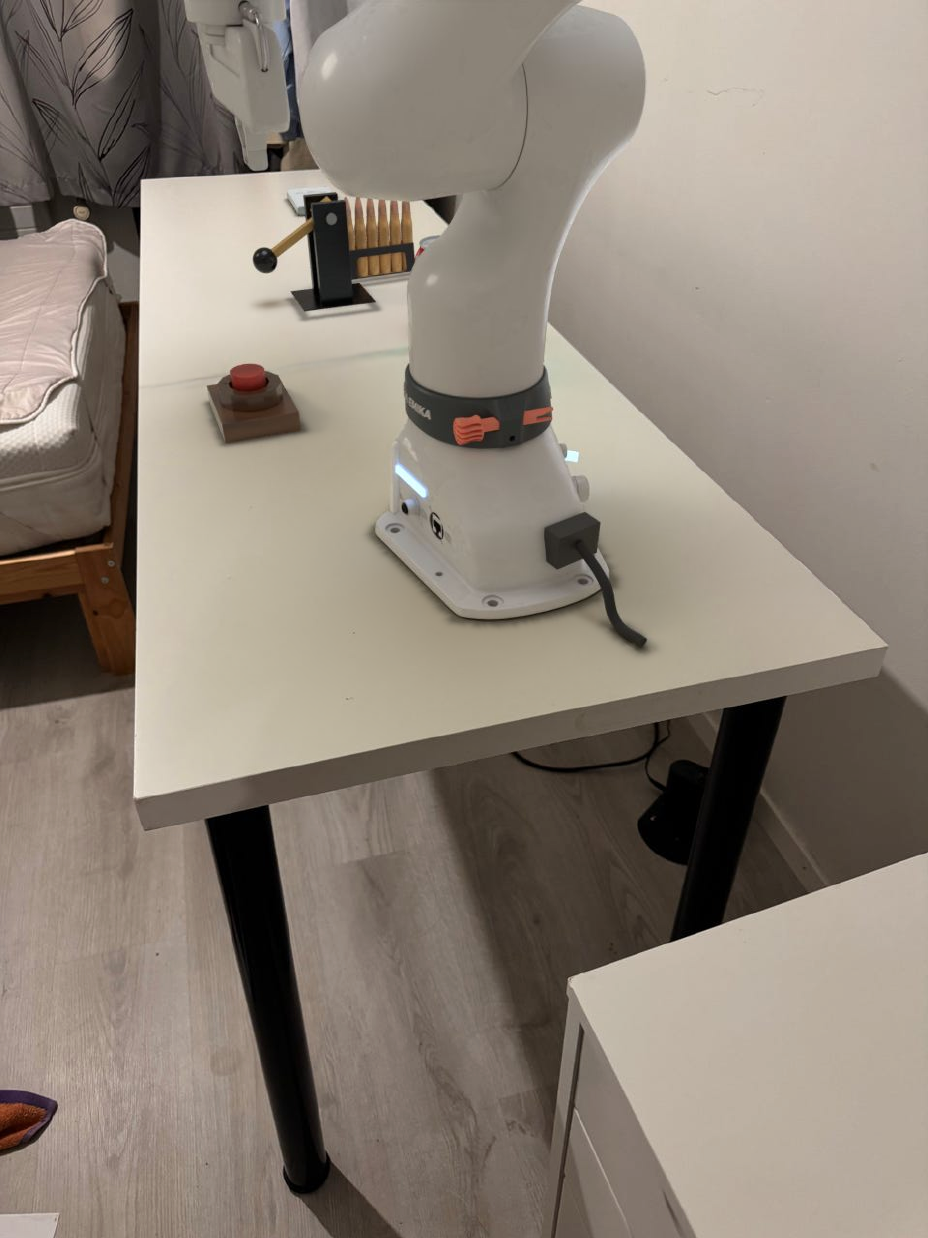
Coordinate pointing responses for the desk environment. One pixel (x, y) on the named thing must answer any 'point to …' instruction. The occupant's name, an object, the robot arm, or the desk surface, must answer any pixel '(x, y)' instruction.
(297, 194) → the hard drive
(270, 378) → the button block
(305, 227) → the lever
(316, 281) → the bracket
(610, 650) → the desk surface
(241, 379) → the button
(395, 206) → the ammunition clip
